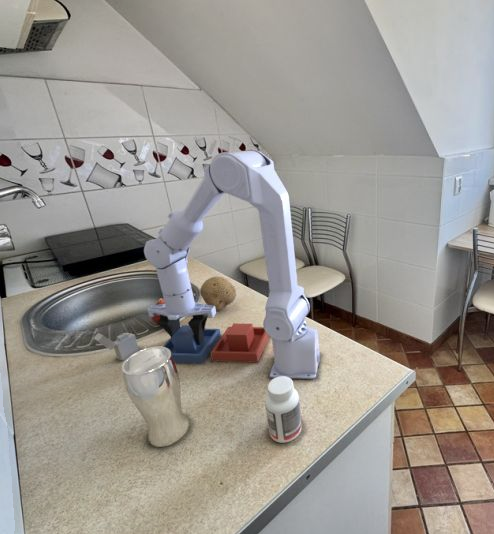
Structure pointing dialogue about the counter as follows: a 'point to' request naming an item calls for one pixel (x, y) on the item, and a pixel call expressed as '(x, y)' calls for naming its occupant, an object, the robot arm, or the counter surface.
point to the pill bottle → (283, 410)
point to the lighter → (120, 344)
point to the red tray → (253, 355)
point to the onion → (157, 317)
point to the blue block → (185, 340)
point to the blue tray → (210, 340)
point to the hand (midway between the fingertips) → (189, 342)
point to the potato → (218, 292)
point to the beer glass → (156, 394)
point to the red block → (240, 337)
